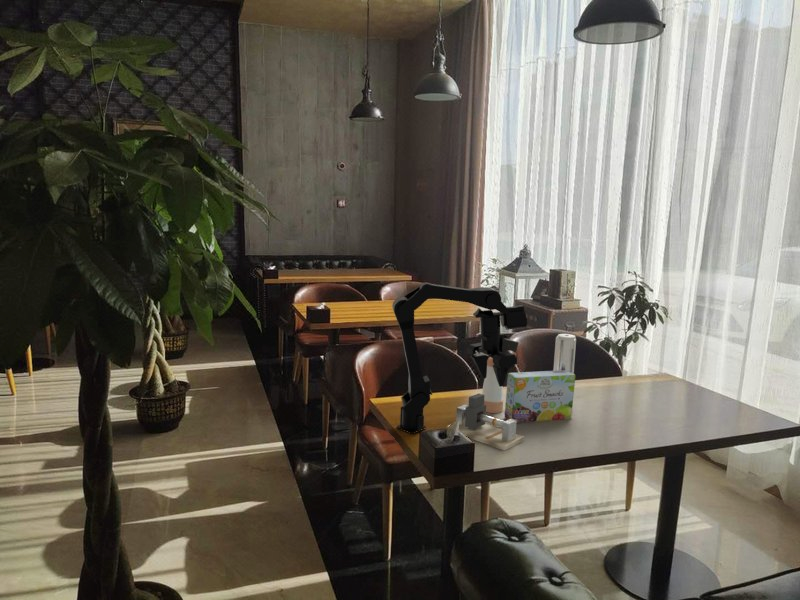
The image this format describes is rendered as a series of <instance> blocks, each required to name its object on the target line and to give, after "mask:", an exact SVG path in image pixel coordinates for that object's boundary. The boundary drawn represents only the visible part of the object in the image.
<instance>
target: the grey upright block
mask: <svg viewBox="0 0 800 600" xmlns="http://www.w3.org/2000/svg"><path fill="white" fill-rule="evenodd" d="M477 413H480V414H484V415H487V412H486V405H485V404H484V395H483V394H482V393H476V394H473V395H471V396H468V406H467V407H466V417H465V427H468V428H471V429H475V428H478V427H480V426H482V425H484V424H486V422H483V421H480V420H477Z"/></svg>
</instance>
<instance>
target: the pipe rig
mask: <svg viewBox="0 0 800 600" xmlns="http://www.w3.org/2000/svg"><path fill="white" fill-rule="evenodd" d="M467 406H469V404H468V405H467V404H462V405H460V406H457V407H456V414H455V415H456V417H455V419H456V421H457V420H458V421H459V426H463V425H465V417H466V407H467ZM477 420H480V421H483V422H485V424H488V425H491V426H494V427H497V428H500V429H502V441H505V442H510V441H511V440H513V439H515V438H516V434H517V424H518V423H517V421H516V420H513V419H509V420H507V419H506V420H502V419H499V418H497V417H492V416H489V415H487V414H486V415H484V414H480V413H477ZM456 421H455V422H456Z"/></svg>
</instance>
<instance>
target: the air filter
mask: <svg viewBox="0 0 800 600" xmlns="http://www.w3.org/2000/svg"><path fill="white" fill-rule="evenodd" d="M576 345H577V338H576V335H575V334H570V333H558V335H557V336H555V345H554V357H553V358H554V359H553V370H552V371H560V370H567V371H569V372H571V373H573V374H575V373H574V372H575V360H576V359H575V358H576V348H577V347H576Z"/></svg>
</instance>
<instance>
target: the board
mask: <svg viewBox="0 0 800 600" xmlns="http://www.w3.org/2000/svg"><path fill="white" fill-rule="evenodd" d="M450 425H451V424H449V425H447V426H446V428H447V427H449V426H450ZM459 429H460V431H462V432H463V433H464V434H466V435H467V436H468V437H469V438H468V437H467V438H468V439H471V440H474V441H477V442H480V443H482V444H485V445H488V446H491V447H494V448H497V449H499V450H502V451H504V452H505V451H507V450H509V449H511V448H513V447H514V446H517V445H518V444H520V443H522V442H524V441H525V436H523V435H520V434H517V433H516V438H515V439H513V440H511V441H510V442H505V441H502V428H501V427H498V426H494V425H492V424H488V423H485V424H484V425H482V426H480V427H478V428H475V429H471V428H468V427H465V425H463V426H459Z"/></svg>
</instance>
